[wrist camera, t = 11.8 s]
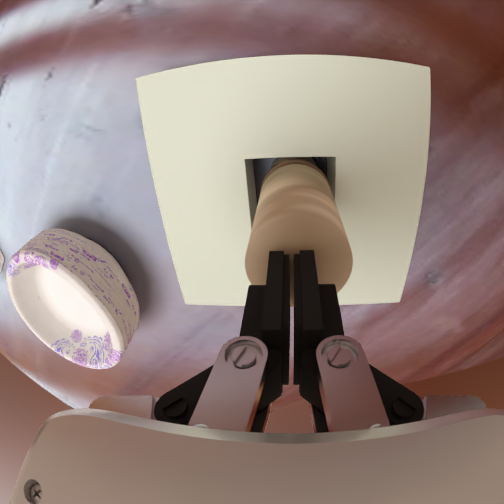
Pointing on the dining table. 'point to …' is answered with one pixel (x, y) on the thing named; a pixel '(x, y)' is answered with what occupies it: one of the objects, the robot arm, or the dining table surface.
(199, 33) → the dining table surface
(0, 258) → the jar
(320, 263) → the peg
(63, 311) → the paper bowls
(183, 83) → the board
